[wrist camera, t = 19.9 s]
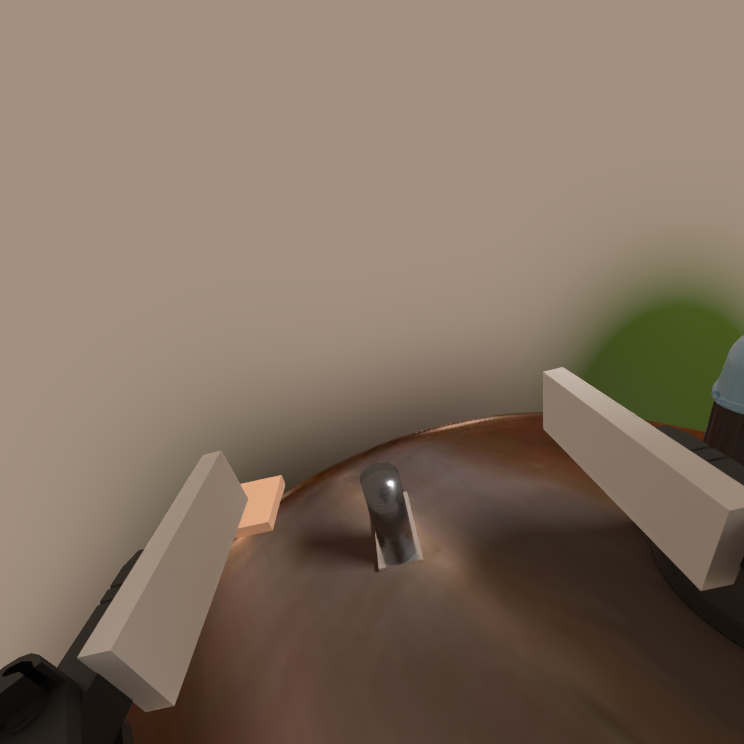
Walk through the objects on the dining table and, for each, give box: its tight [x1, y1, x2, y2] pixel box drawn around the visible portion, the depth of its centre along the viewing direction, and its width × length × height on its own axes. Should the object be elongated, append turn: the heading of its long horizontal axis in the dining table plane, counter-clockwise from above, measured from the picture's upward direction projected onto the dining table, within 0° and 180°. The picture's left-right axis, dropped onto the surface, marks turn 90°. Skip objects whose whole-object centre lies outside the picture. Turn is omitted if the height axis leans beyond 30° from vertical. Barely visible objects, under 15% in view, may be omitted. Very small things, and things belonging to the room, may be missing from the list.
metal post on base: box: [360, 462, 424, 572], centre depth 37 cm, size 5×10×12 cm, turn 5°
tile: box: [235, 475, 285, 538], centre depth 48 cm, size 7×2×9 cm
